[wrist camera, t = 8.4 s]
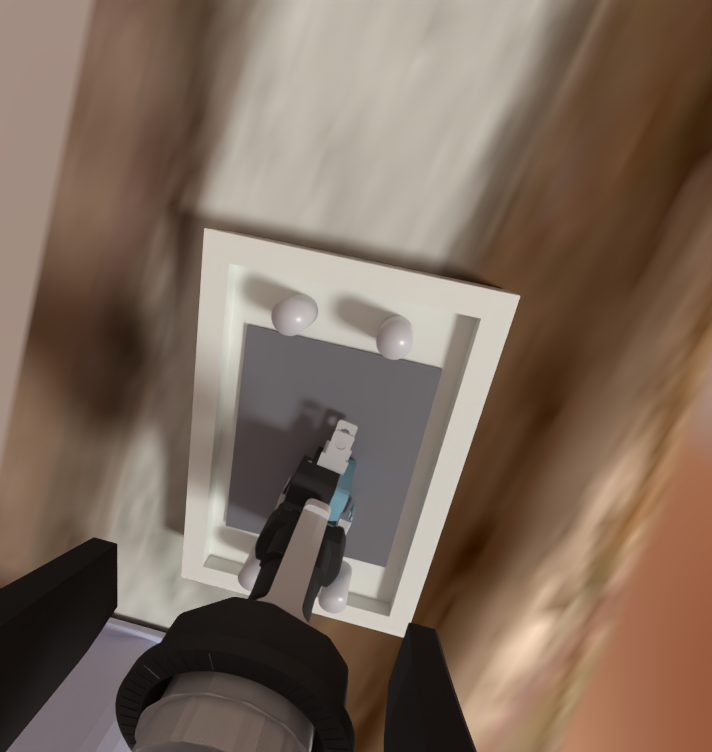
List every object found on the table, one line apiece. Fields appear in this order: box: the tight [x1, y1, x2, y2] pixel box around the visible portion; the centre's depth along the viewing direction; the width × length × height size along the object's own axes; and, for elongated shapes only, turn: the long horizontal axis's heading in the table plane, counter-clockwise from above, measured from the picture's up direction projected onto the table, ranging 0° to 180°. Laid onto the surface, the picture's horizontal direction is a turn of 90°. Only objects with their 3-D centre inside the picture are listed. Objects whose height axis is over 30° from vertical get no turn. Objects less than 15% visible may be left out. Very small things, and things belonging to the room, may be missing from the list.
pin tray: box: [181, 228, 520, 638], centre depth 16 cm, size 11×16×3 cm
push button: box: [115, 419, 358, 752], centre depth 12 cm, size 7×5×10 cm
